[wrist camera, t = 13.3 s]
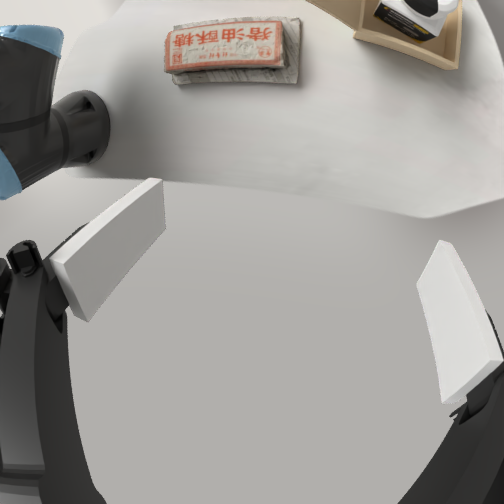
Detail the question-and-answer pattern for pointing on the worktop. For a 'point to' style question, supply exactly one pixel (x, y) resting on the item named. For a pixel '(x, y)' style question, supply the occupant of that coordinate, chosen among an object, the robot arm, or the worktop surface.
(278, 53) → the packaged product
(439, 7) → the medicine bottle
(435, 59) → the mailer
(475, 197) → the worktop surface
